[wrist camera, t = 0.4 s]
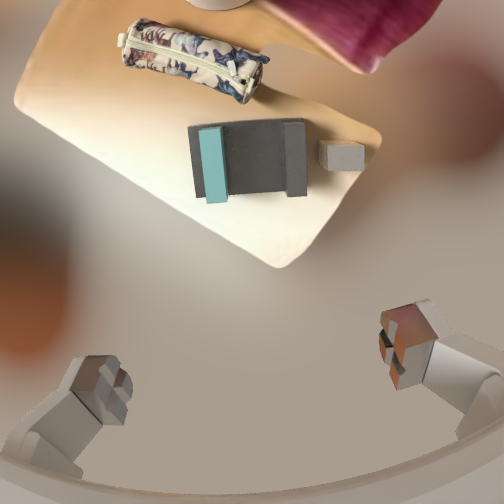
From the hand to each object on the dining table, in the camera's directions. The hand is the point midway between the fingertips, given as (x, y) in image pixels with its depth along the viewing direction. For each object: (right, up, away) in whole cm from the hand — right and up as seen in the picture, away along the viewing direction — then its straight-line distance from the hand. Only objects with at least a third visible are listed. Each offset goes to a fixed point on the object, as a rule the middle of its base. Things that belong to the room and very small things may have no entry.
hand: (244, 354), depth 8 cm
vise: (0, +19, +41) cm, 45 cm away
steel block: (+14, +20, +41) cm, 47 cm away
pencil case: (-9, +33, +33) cm, 48 cm away
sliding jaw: (-5, +17, +39) cm, 43 cm away
